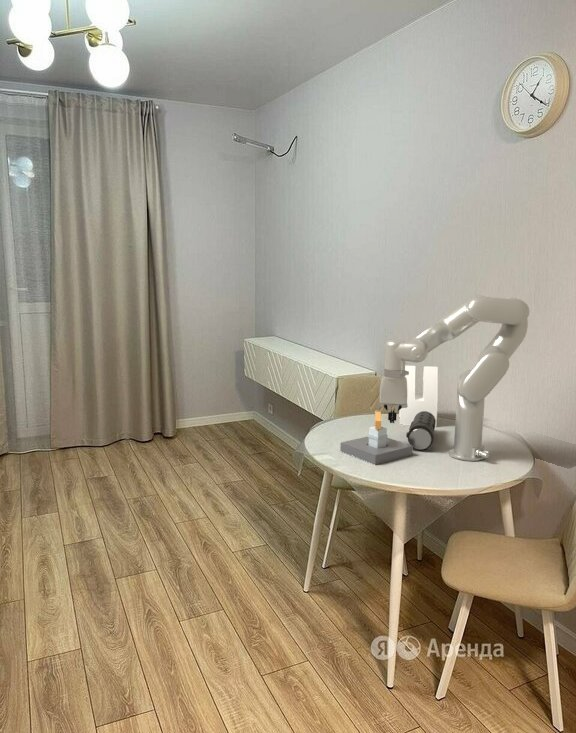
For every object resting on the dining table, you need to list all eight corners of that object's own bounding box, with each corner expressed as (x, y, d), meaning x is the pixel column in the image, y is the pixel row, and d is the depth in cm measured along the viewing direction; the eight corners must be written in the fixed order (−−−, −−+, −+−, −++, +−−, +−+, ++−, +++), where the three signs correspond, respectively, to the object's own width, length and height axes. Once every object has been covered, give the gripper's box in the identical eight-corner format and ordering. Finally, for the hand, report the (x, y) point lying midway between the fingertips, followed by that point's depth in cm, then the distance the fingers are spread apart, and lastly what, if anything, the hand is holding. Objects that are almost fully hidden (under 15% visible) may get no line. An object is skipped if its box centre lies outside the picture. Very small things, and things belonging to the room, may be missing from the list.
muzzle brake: (412, 433, 241) (437, 431, 238) (406, 452, 215) (434, 450, 212) (409, 411, 240) (434, 409, 237) (403, 428, 214) (431, 425, 211)
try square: (374, 434, 222) (375, 410, 220) (380, 434, 221) (381, 410, 220) (374, 447, 206) (375, 420, 204) (380, 447, 205) (381, 421, 204)
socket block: (412, 455, 209) (412, 445, 209) (375, 464, 198) (375, 455, 198) (376, 443, 224) (377, 434, 223) (340, 451, 212) (340, 442, 212)
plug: (386, 454, 209) (387, 428, 208) (377, 457, 206) (378, 430, 205) (376, 451, 213) (377, 425, 212) (367, 453, 210) (368, 427, 209)
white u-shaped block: (436, 427, 248) (439, 370, 244) (400, 425, 250) (402, 369, 246) (432, 416, 266) (435, 363, 262) (399, 414, 269) (401, 362, 265)
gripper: (414, 373, 213) (411, 420, 216) (373, 371, 215) (371, 418, 218) (415, 376, 206) (413, 426, 209) (373, 374, 208) (371, 423, 211)
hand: (392, 422), depth 214 cm, fingers closed
